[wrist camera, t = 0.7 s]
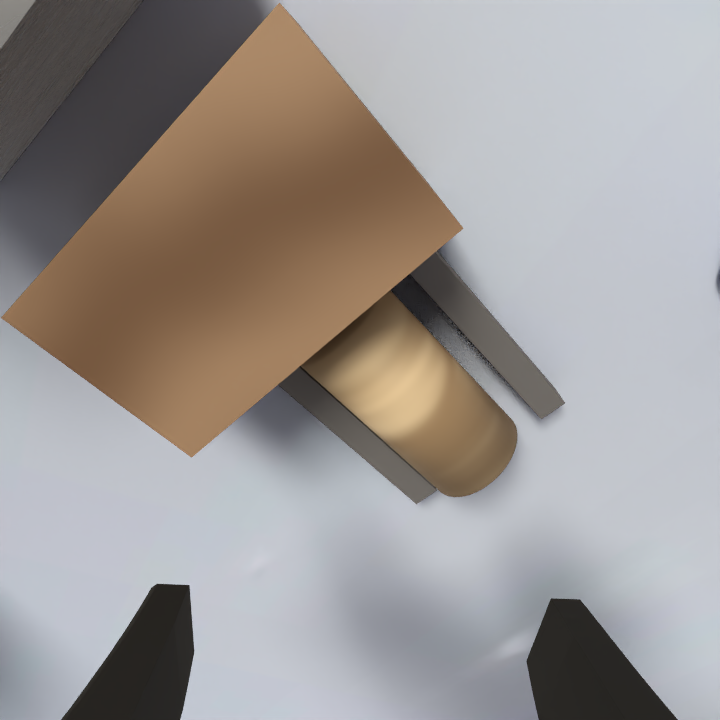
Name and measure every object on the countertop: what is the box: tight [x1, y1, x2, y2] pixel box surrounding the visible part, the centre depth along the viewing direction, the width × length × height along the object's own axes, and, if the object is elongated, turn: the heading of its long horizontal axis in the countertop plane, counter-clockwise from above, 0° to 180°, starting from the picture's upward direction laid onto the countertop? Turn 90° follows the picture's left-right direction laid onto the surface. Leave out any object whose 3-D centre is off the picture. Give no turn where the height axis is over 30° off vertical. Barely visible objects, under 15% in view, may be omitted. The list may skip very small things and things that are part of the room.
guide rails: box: [278, 251, 565, 504], centre depth 19 cm, size 8×7×1 cm
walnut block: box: [1, 3, 463, 457], centre depth 14 cm, size 6×9×5 cm, turn 132°
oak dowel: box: [301, 290, 517, 497], centre depth 18 cm, size 7×4×4 cm, turn 42°
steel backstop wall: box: [0, 0, 143, 181], centre depth 12 cm, size 2×10×5 cm, turn 132°
